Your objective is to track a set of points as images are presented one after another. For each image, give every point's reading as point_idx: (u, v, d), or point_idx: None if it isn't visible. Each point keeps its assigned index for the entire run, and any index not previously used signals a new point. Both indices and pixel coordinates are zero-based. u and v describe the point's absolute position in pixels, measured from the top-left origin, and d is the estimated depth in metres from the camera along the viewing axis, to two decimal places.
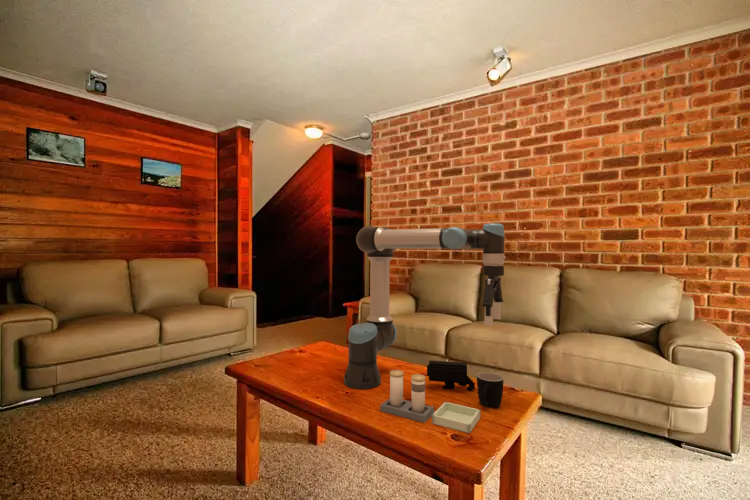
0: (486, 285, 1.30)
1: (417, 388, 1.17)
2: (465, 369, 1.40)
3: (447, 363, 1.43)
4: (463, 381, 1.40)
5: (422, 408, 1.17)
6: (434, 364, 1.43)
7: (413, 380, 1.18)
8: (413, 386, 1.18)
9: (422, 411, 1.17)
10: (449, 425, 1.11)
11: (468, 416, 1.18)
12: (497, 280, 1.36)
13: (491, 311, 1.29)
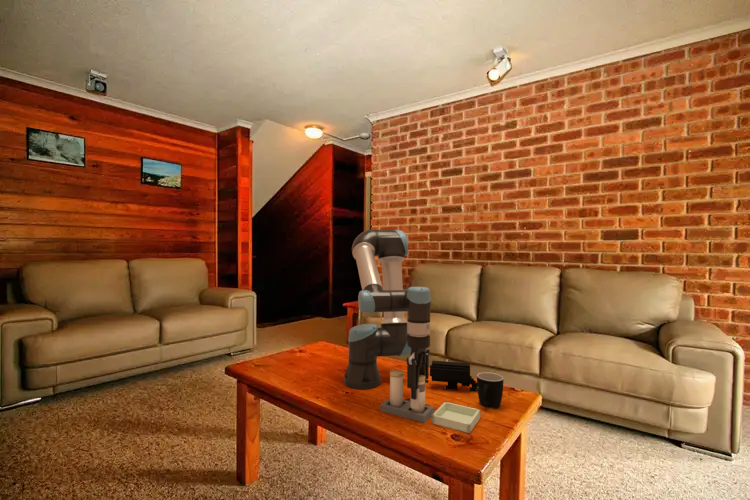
0: (408, 365, 1.14)
1: None
2: (468, 369, 1.40)
3: (450, 363, 1.43)
4: (466, 382, 1.40)
5: (422, 408, 1.17)
6: (437, 364, 1.43)
7: None
8: None
9: (422, 411, 1.17)
10: (449, 425, 1.11)
11: (468, 416, 1.18)
12: (423, 349, 1.20)
13: (417, 393, 1.16)
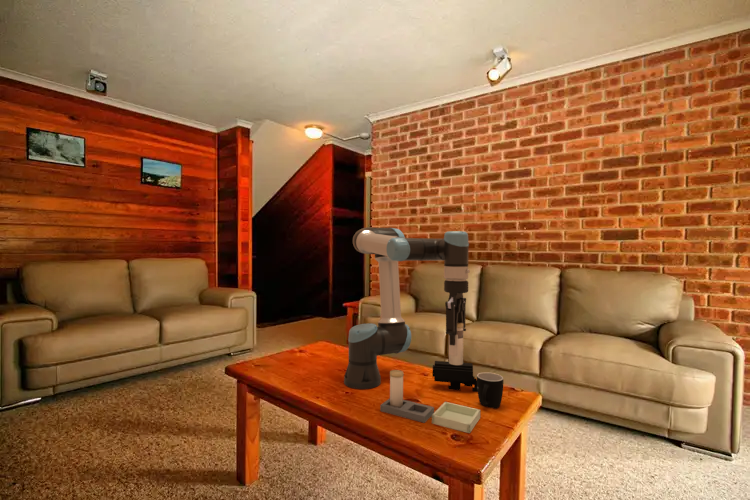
0: (447, 309, 1.11)
1: None
2: (471, 369, 1.39)
3: None
4: (469, 382, 1.40)
5: (461, 355, 1.14)
6: (440, 364, 1.42)
7: None
8: None
9: (461, 358, 1.14)
10: (449, 425, 1.11)
11: (468, 416, 1.18)
12: (461, 295, 1.16)
13: (456, 339, 1.12)
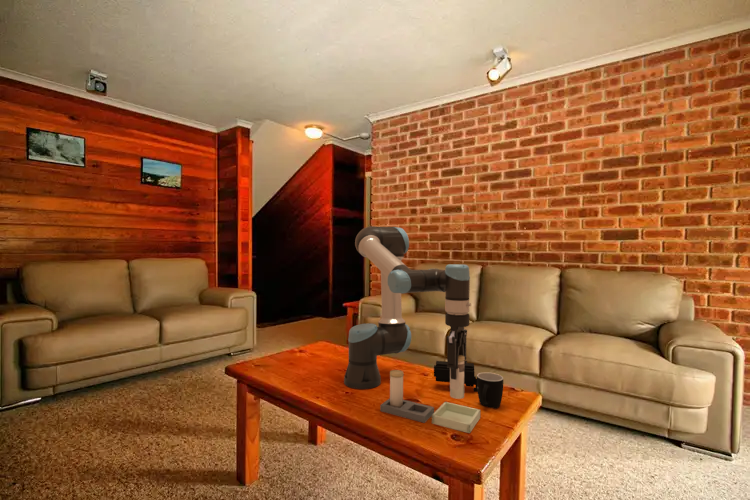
0: (448, 344, 1.11)
1: None
2: (472, 370, 1.39)
3: None
4: (471, 382, 1.40)
5: (462, 389, 1.14)
6: (441, 364, 1.42)
7: None
8: None
9: (462, 392, 1.14)
10: (449, 425, 1.11)
11: (468, 416, 1.18)
12: (462, 328, 1.16)
13: (457, 373, 1.12)
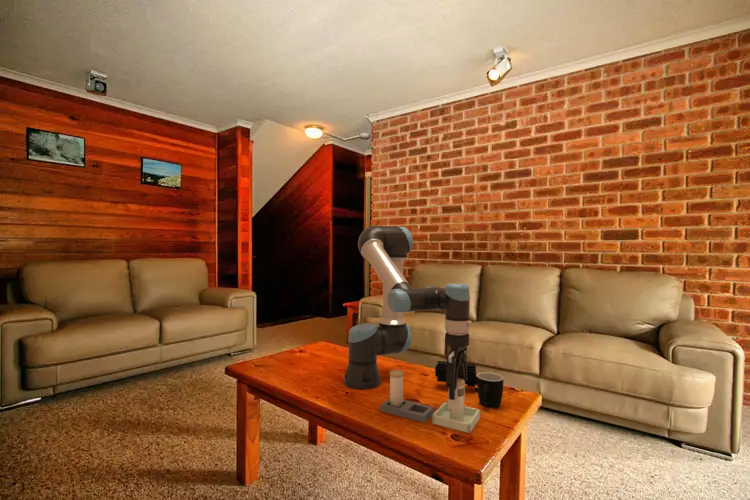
0: (447, 363, 1.10)
1: None
2: (474, 370, 1.39)
3: None
4: (472, 382, 1.40)
5: (461, 413, 1.14)
6: (442, 365, 1.42)
7: None
8: None
9: (461, 416, 1.14)
10: (449, 425, 1.11)
11: (468, 416, 1.18)
12: (462, 348, 1.16)
13: (455, 393, 1.11)
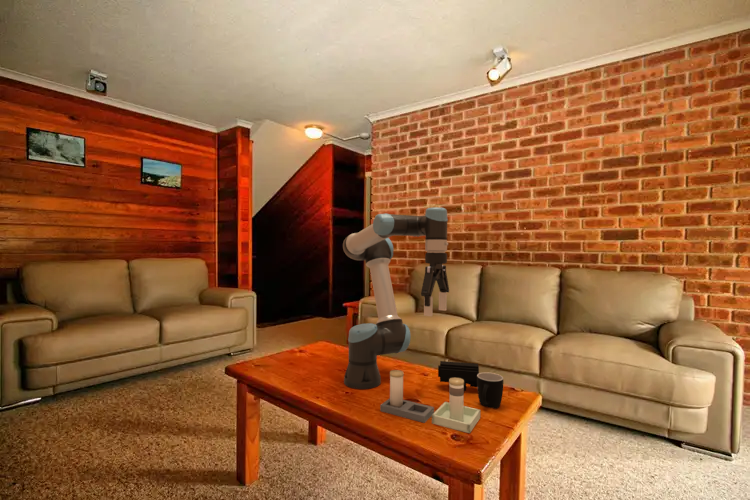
0: (426, 273, 1.21)
1: (456, 392, 1.14)
2: (477, 370, 1.39)
3: (458, 364, 1.42)
4: (475, 382, 1.39)
5: (461, 413, 1.14)
6: (445, 365, 1.42)
7: (451, 384, 1.14)
8: (451, 390, 1.14)
9: (461, 416, 1.14)
10: (449, 425, 1.11)
11: (468, 416, 1.18)
12: (440, 268, 1.27)
13: (430, 301, 1.20)
